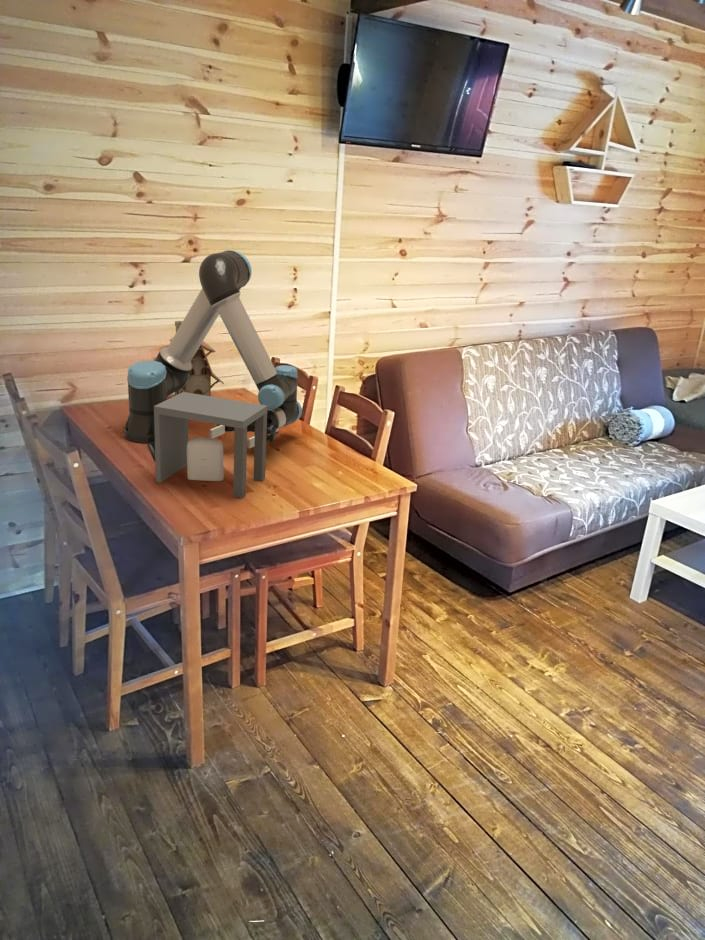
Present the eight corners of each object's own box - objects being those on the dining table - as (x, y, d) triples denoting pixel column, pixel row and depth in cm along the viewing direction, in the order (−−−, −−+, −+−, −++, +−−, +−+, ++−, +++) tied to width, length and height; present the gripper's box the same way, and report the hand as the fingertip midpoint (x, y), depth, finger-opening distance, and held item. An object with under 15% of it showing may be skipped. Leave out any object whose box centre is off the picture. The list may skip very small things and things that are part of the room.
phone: (155, 460, 214) (147, 442, 226) (155, 463, 214) (147, 446, 227) (182, 457, 217) (172, 441, 229) (182, 461, 217) (172, 444, 230)
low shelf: (155, 481, 201) (153, 406, 192) (184, 463, 215) (183, 391, 207) (241, 498, 195) (243, 421, 186) (264, 478, 209) (267, 405, 201)
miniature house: (175, 420, 251) (174, 334, 240) (161, 400, 270) (159, 320, 259) (226, 416, 258) (227, 333, 247) (209, 397, 278) (209, 320, 267)
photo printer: (185, 480, 203) (185, 439, 198) (188, 475, 207) (188, 434, 202) (222, 483, 204) (222, 441, 199) (224, 477, 207) (224, 436, 203)
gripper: (302, 439, 225) (265, 459, 207) (236, 424, 235) (195, 442, 217) (303, 416, 222) (266, 435, 205) (236, 402, 232) (195, 418, 214)
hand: (229, 439), depth 211 cm, fingers open, 13 cm apart
